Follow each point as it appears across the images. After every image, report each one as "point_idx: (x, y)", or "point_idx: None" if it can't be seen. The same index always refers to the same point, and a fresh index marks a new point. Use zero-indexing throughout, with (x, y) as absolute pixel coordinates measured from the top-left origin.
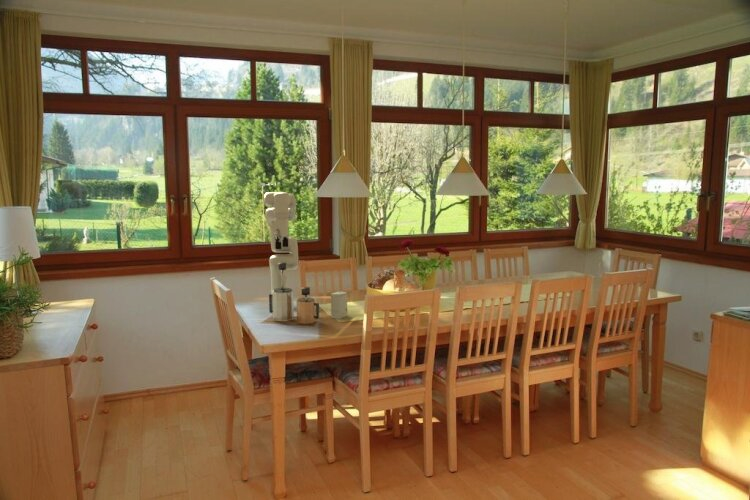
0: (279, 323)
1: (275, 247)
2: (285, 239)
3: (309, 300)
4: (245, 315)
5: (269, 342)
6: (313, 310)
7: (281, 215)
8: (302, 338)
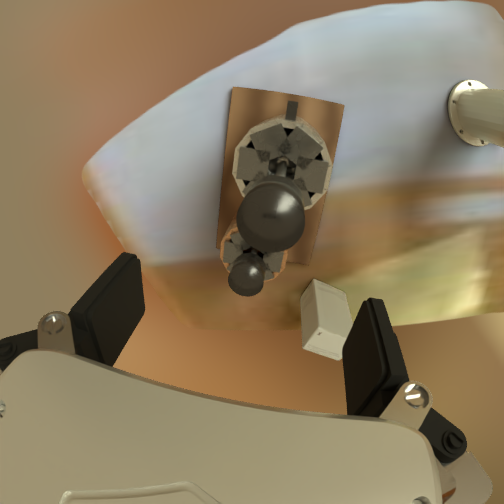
0: (234, 147)
1: (115, 260)
2: (368, 408)
3: (230, 271)
4: (349, 14)
5: (97, 168)
6: None
7: None
8: (138, 231)
